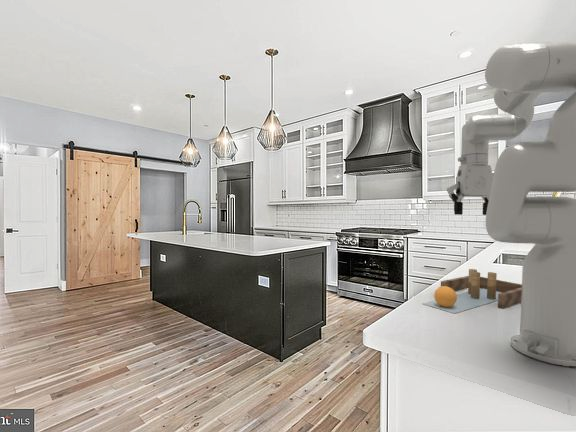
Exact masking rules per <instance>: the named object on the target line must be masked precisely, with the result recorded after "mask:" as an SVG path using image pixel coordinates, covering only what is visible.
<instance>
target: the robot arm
mask: <svg viewBox="0 0 576 432" xmlns="http://www.w3.org/2000/svg"><path fill="white" fill-rule="evenodd" d="M484 79H485V82H486V83H487V84H488V86H490V87H491V88H493V89H495V92H494V94H493V101H494V103H495V105H496V106H497V108H498V109H499V110H501V111H502V112H504V113H493V114H491V113H490V114H475V115H473V116H471V117H469V118H468V119H467V121H466V122H465V124H463V126H462V127H461V144H460V145H461V148H460V149H461V150H460V151H461V152H460V157H458V158H457V162H460V165H459V166H458V169H457V174H456V177H455V178H456V179H455V184H453V185H450V186H449V187H447V188H446V191H447V194H448V197H449V198H450V199H451V200H452V202H453V212H454V214H453V215H463V209H464V208H463V206H464V203H463V201H462V200H463V199H464V198H467V197H468V198H469V197H470V198H471V197H472V198H481V200H482V201H484V202H483V203H482V215H483V216H485V228H486V229H485V230H486V233H487V234H488V236H489V237H490V238H491V239H493V240H494V241H496V242H499V243H505V244H507V243H509V244H534V245H533V246H532V248H531V249H530V250H529V251H528V253H527V254H526V256H525V258H524V260H523V262H522V271H521V272H522V273H521V284H522V295H521V303H520V323H519V324H520V327H519V328H520V329H519V334H515V335H513V336H511V337H510V346H511V347H512V348H513V349H514V350H516V351H517V352H519V353H521V354H523V355H525V356H527V357H530V358H532V359H535V360H537V361H541V362H544V363H548V364H552V365H556V366H561V365H562V366H563V367H569V366H576V198H573V197H567V196H544V195H543V196H540V195H539V196H528V194H529V193H531V192H532V193H534V192H535V193H536V192H537V193H539V192H540V193H543V192H544V193H547V192H549V193H550V192H551V193H553V192H554V193H557V192H559V193H564V192H576V41H565V42H564V41H563V42H549V41H547V42H546V41H545V42H544V41H543V42H528V43H526V42H525V43H512V44H505V45H503V46H501V47H499V48H498V49H496V50H495V51H494V52H493V53H492V55H491V57H490V58H489V59H488V61H487V63H486V66H485V70H484ZM561 92H574V93H573V94H571V95H570V96H569V97H568V98H566V99H565V101H563V103H561V105H560V106H559V107H557V109H556V110H555V112H554V113H553V114H552V117H551V119H550V123H549V127H548V132H547V135H546V138H544V140H543V141H520V142H515V143H513V144H510V145H508V146H507V147H505V149H503V151H502V152H501V153H500V155H499V157H498V159H497V161H496V163H495V167H494V172H493V170H492V166H491V165H490V164H489V147H490V145H489V144H490V143H489V142H491V141H492V142H493V141H509V140H513V139H515V138H517V137H518V136H520V135H521V134H522V133H524V131H526V129H527V128H528V127H529V126H530V125H531V123H532V121H533V118H534V115H535V105H534V101H535V100H536V99H537V98H538V97H539V96H540V95H541V94H542V93H561ZM562 366H561V367H562Z"/></svg>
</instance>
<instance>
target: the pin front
mask: <svg viewBox="0 0 576 432" xmlns="http://www.w3.org/2000/svg"><path fill="white" fill-rule="evenodd" d="M480 277H481V272H478V271H477V272H472V279H471V298H474V299H479V297H480V289H481V288H480Z"/></svg>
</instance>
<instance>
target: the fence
mask: <svg viewBox="0 0 576 432" xmlns="http://www.w3.org/2000/svg"><path fill="white" fill-rule="evenodd" d="M487 280H488V277H484V276H480V289H487ZM468 281H469V275H465V276H461V277H456V278H451V279H445V280H441V281H440V287H442V286H447V287H450V288H451V289H453V290H454V291H455V292H457V291H461V290H462V291H463V290H466V289H467V290H468ZM496 291H497V292H502V293H500V294H498V301H497V308H501V309H506V308H510V307H512V306H516V305H518V304H521V295H522V283H515V282H510V281H505V280H499V279H496Z"/></svg>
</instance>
